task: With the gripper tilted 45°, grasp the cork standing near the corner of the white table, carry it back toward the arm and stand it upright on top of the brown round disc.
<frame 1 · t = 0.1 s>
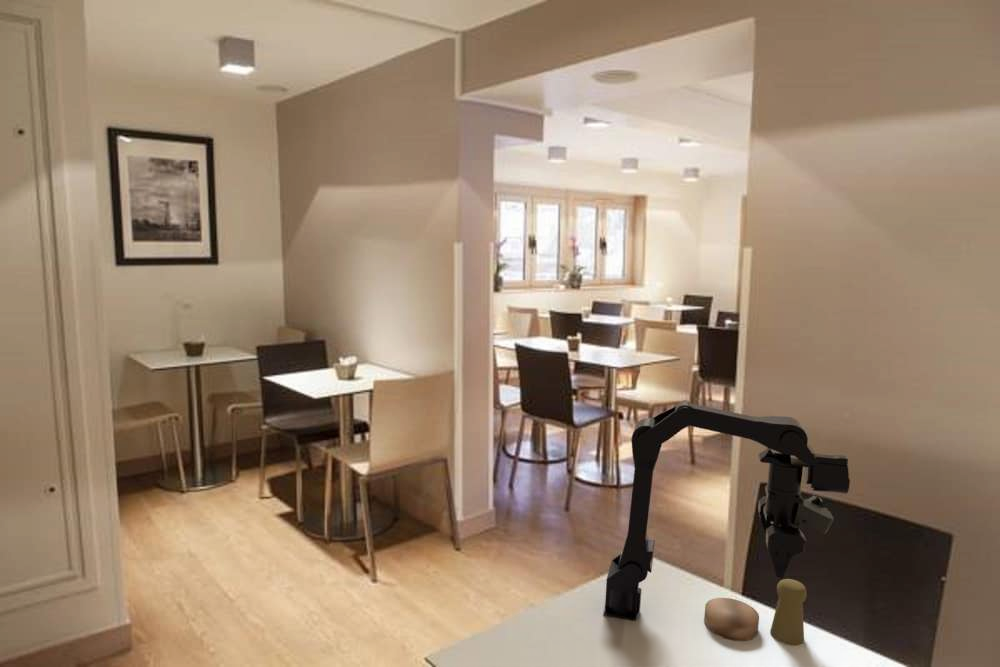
hand: (776, 565, 123), 15 cm above the table, tool pointing down, fingers open, 9 cm apart
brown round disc: (730, 625, 129), on the table
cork: (786, 637, 126), on the table
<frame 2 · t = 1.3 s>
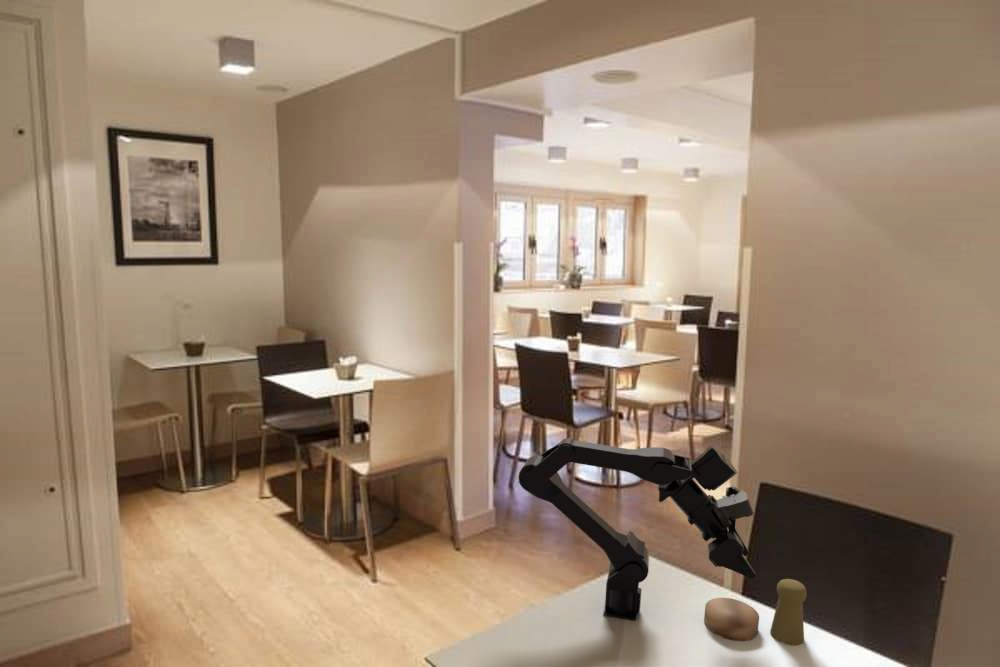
hand: (750, 565, 126), 13 cm above the table, tool tilted 45°, fingers open, 9 cm apart
nothing on the table moved.
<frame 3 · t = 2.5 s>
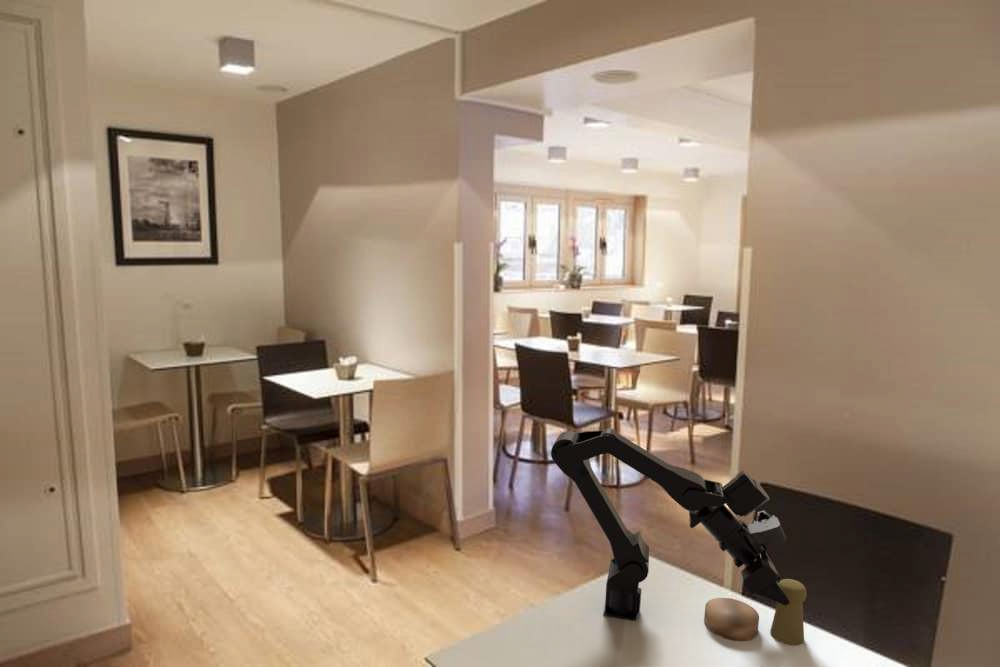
hand: (783, 591, 125), 9 cm above the table, tool tilted 45°, fingers open, 9 cm apart
nothing on the table moved.
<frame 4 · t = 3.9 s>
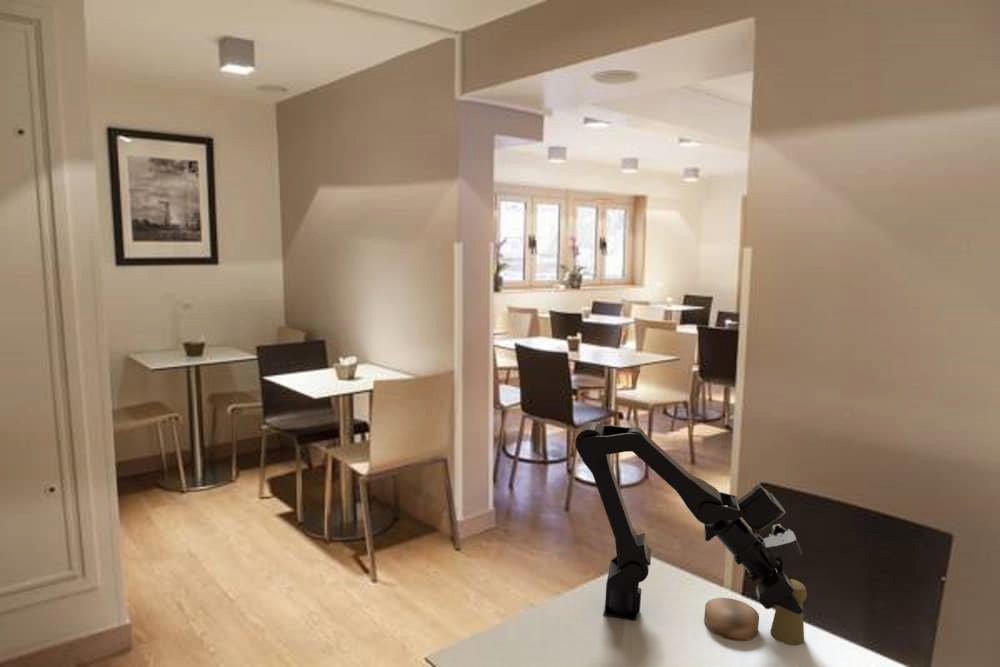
hand: (798, 605, 125), 7 cm above the table, tool tilted 45°, fingers closed on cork, 5 cm apart
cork: (787, 636, 126), on the table, touching gripper
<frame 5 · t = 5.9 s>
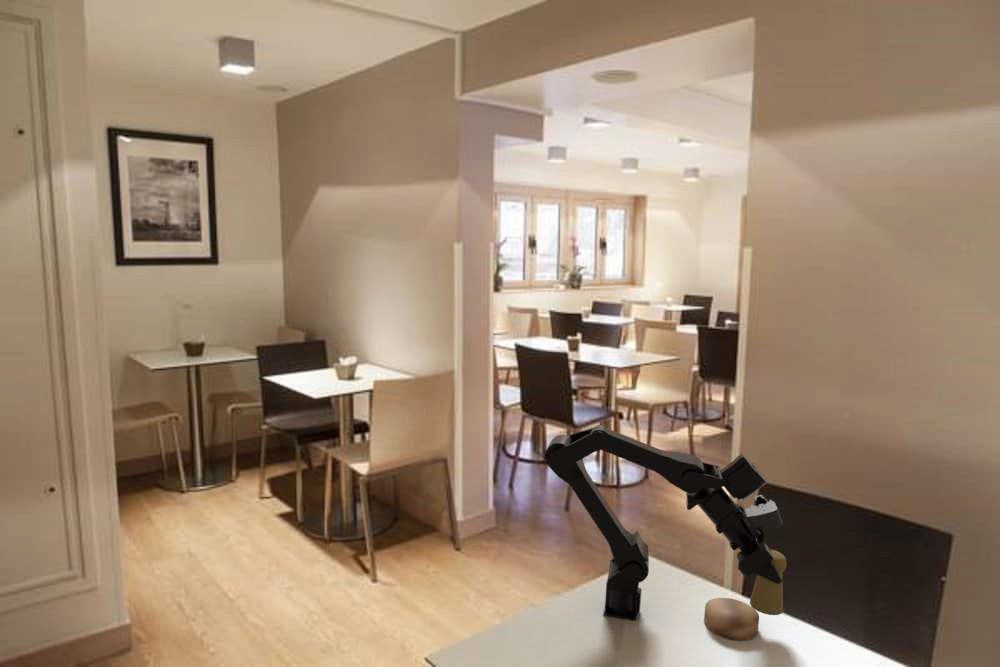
hand: (777, 575, 125), 12 cm above the table, tool tilted 45°, fingers closed on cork, 5 cm apart
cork: (766, 607, 126), point 5 cm above the table, touching gripper
when the fingers open (11 cm above the table, at t = 7.7 s): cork drops 1 cm, resting on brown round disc.
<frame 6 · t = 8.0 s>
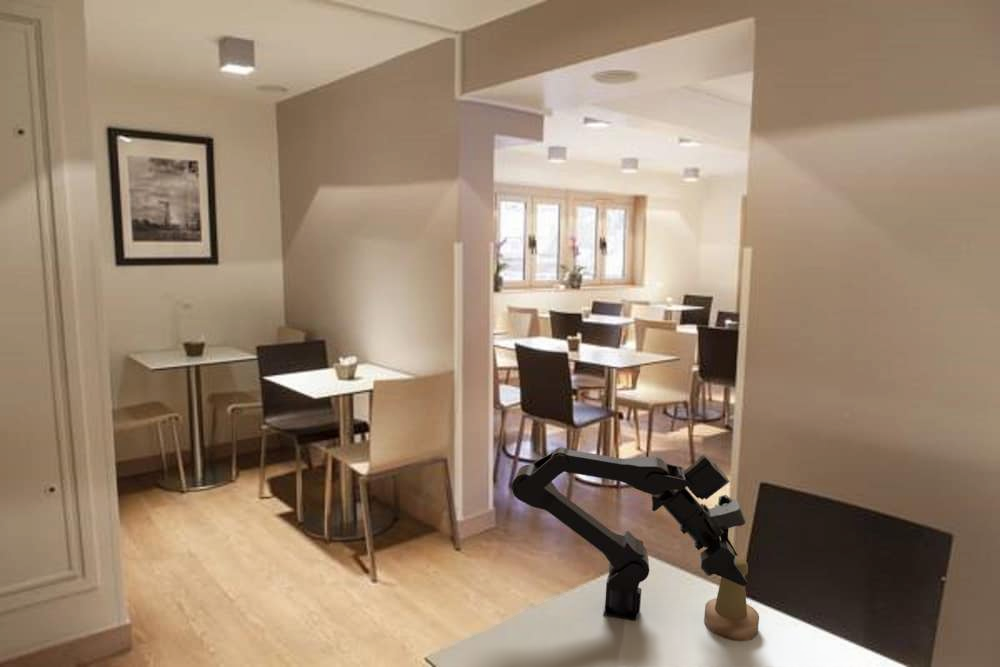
hand: (742, 574, 127), 11 cm above the table, tool tilted 45°, fingers open, 8 cm apart
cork: (730, 611, 128), point 3 cm above the table, touching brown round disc
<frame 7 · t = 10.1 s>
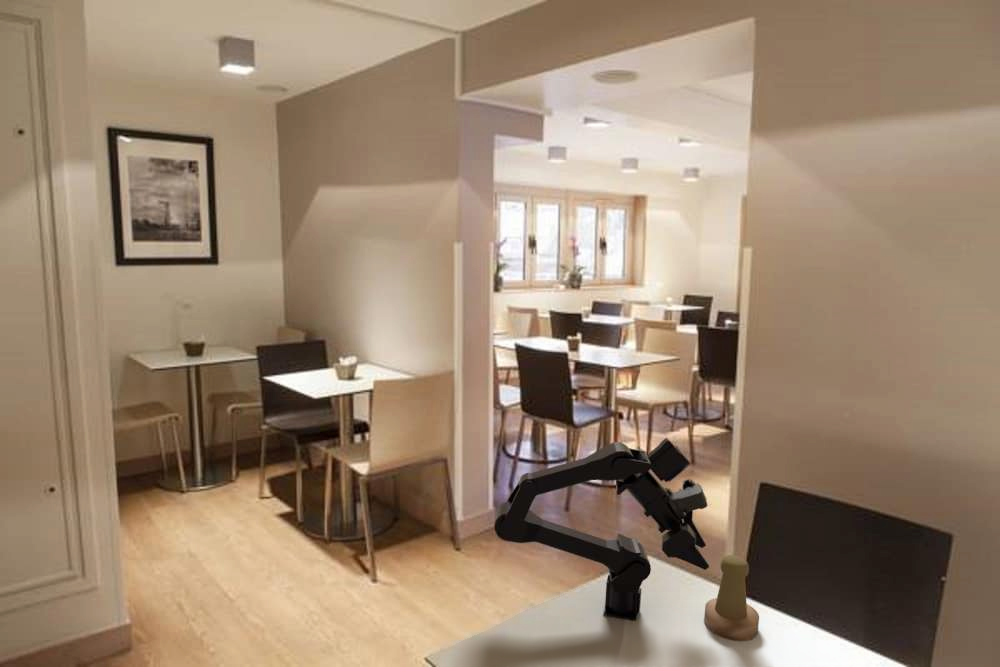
hand: (705, 557, 128), 14 cm above the table, tool tilted 45°, fingers open, 9 cm apart
nothing on the table moved.
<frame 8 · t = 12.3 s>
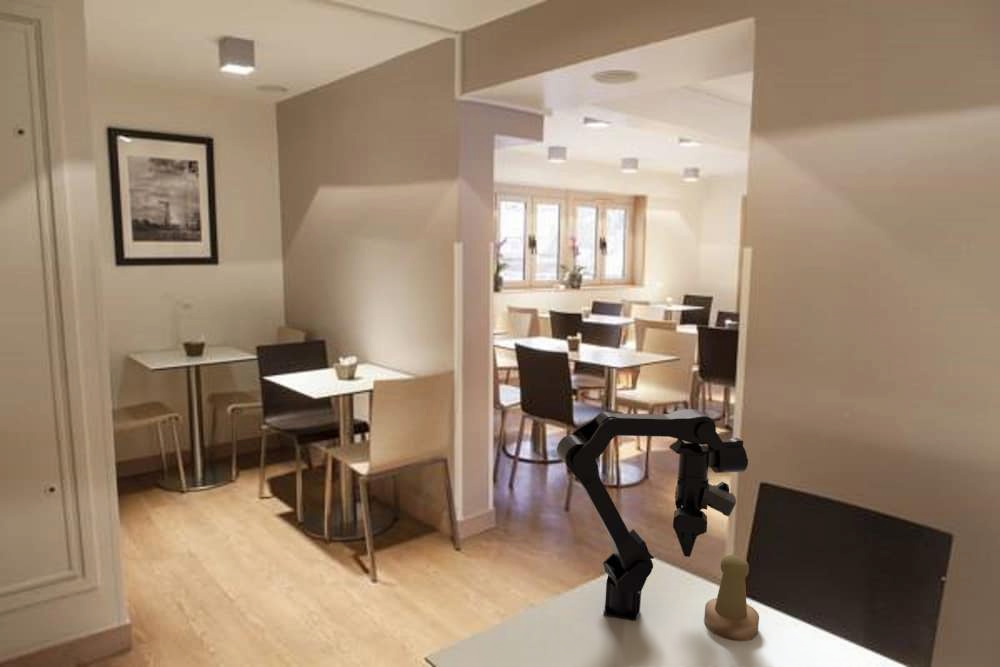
hand: (687, 546, 134), 13 cm above the table, tool pointing down, fingers open, 9 cm apart
nothing on the table moved.
at the end: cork 0.2 cm off-centre on the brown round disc, point 2.8 cm above the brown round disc's base; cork tilted 0°; the gripper is holding nothing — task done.
